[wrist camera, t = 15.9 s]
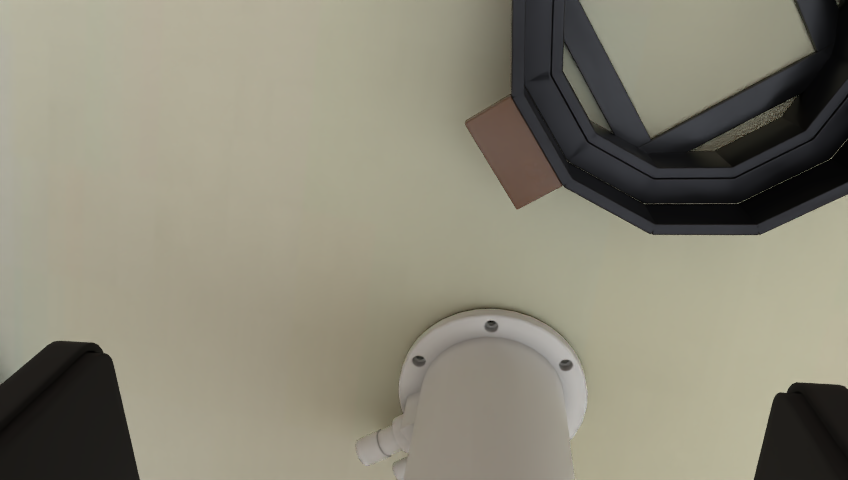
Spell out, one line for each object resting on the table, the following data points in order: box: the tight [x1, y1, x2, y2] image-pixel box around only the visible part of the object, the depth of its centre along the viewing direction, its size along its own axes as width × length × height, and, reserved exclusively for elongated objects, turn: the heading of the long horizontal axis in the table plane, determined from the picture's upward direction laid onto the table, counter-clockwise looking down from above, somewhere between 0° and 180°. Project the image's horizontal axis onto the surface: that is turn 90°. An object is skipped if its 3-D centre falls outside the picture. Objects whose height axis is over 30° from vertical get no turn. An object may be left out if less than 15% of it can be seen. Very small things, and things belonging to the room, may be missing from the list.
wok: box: [465, 0, 848, 235], centre depth 32 cm, size 24×19×6 cm
